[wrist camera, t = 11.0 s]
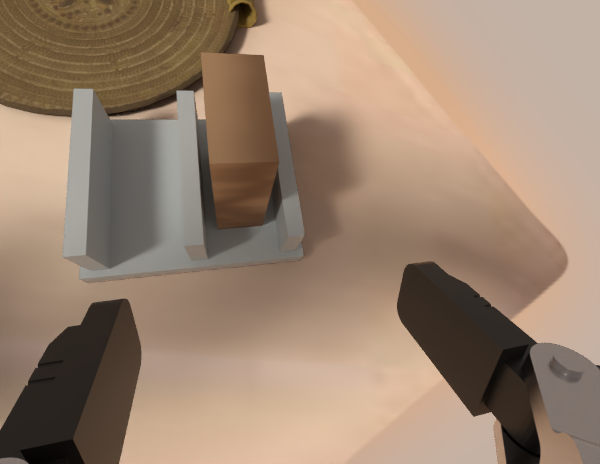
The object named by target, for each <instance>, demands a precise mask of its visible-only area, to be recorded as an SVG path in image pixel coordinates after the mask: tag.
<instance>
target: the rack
mask: <svg viewBox="0 0 600 464" xmlns="http://www.w3.org/2000/svg"><path fill="white" fill-rule="evenodd" d="M269 96H270V102H271V109H272V116H273V123H274V129H275V136H276V143H277V150H278V156H279V164H278V168H277V172H276V176H275V180H274V184H273V187H272V191H271V195H270V199H269V203H268V206H267V210H266V214H265V218H264V222H263V225H262V226H255V227H242V228H229V229H218V227H217V219H216V212H215V204H214V196H213V189H212V181H211V173H210V166H209V154H208V141H207V128H206V120H198V116H197V110H196V103H195V97H194V91H177V110H178V120H110V119H109V117H108V115H107V113H106V111H105V109H104V108H103V106H102V104H101V102H100V100H99V99H98V97H97V95H96V93H95V91H94V90H93V89H74V91H73V106H72V121H71V137H70V152H69V167H68V182H67V197H66V212H65V227H64V242H63V258H65V259H67V260H70V261H72V262H74V263H76V264H78V265H80V271H79V279H80V280H82V281H85V282H87V283H92V282H101V281H111V280H120V279H129V278H139V277H148V276H157V275H167V274H176V273H185V272H195V271H204V270H214V269H223V268H232V267H242V266H251V265H260V264H270V263H279V262H288V261H298V260H301V259H302V258H303V256H304V253H303V247H302V239H303V238H304V236H305V232H304V226H303V220H302V214H301V208H300V202H299V196H298V189H297V183H296V177H295V171H294V165H293V159H292V153H291V147H290V141H289V134H288V128H287V122H286V116H285V110H284V104H283V98H282V93H279V92H269Z"/></svg>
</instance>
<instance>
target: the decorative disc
mask: <svg viewBox="0 0 600 464" xmlns="http://www.w3.org/2000/svg"><path fill="white" fill-rule="evenodd" d="M256 21H257V12H256V10H255V6H254V3H253V0H0V104H2V105H5V106H8V107H12V108H15V109H19V110H23V111H27V112H31V113H38V114H51V115H68V116H72V106H73V91H74V89H93V90H94V91H95V93H96V95H97V97H98V99H99V100H100V102H101V104H102V106H103V108H104V109H105V111H106V113H107V114H110V113H118V112H125V111H132V110H138V109H140V108H143V107H145V106H148V105H150V104H153V103H155V102H158V101H160V100H162V99H165V98H167V97H170V96H172V95H175V94H177V91H182V90H183V89H185V88H186V87H188V86H189V85H191V84H192V83H193V82H195V81H196V80H198V79H199V78H201V77H202V76H203V75H202V62H201V52H204V53H224V52H225V50H226V48H227V47H228V45H229V44H230V42H231V40H232V39H233V36H234V32H235V29H236V27H247V28H251V27H252V26H253V24H254V23H255V22H256Z"/></svg>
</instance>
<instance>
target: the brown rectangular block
mask: <svg viewBox="0 0 600 464" xmlns="http://www.w3.org/2000/svg"><path fill="white" fill-rule="evenodd" d="M201 62H202V75H203V88H204V101H205V115H206V128H207V141H208V154H209V166H210V173H211V181H212V189H213V196H214V204H215V212H216V219H217V227H218V229H229V228H242V227H255V226H262V225H263V222H264V218H265V214H266V210H267V206H268V203H269V199H270V195H271V191H272V187H273V184H274V180H275V176H276V172H277V168H278V164H279V156H278V150H277V143H276V136H275V129H274V123H273V116H272V109H271V102H270V96H269V89H268V82H267V75H266V69H265V62H264V55H247V54H226V53H204V52H201Z"/></svg>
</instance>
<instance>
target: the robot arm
mask: <svg viewBox="0 0 600 464" xmlns="http://www.w3.org/2000/svg"><path fill="white" fill-rule="evenodd" d="M397 310H398V315H399V318H400V320H401V322H402V323H403V325H404V326H405V327H406V329H407V330H408V331H409V333H410V334H411V335H412V336H413V338H414V339H415V340H416V342H417V343H418V344H419V346H420V347H421V348H422V350H423V351H424V352H425V354H426V355H427V356H428V357H429V359H430V360H431V361H432V363H433V364H434V365H435V367H436V368H437V369H438V371H439V372H440V373H441V375H442V376H443V377H444V378H445V380H446V381H447V382H448V383H449V385H450V386H451V387H452V389H453V390H454V392H455V393H456V394H457V395H458V397H459V398H460V399H461V401H462V402H463V403H464V405H465V406H466V407H467V409H468V410H469V411H470V413H471V414H472V415H473V416H478V415H482V414H485V413H489V412H492V414H493V415H494V416H495V417H496V421H495V423H494V437H495V444H496V452H497V461H498V464H600V366H598V365H594V364H593V363H592V362H591V361H590V360H588V359H587V358H585V357H584V356H582V355H580V354H579V353H577V352H575V351H573V350H571V349H569V348H566V347H563V346H560V345H557V344H552V343H536V342H535V341H534V340H533V339H532V338H531V337H529V336H528V335H527V334H526V333H525V332H523V331H522V330H521V329H520V328H519V327H517V326H516V325H515V324H514V323H513V322H512V321H510V320H509V319H508V318H507V317H506V316H504V315H503V314H502V313H501V312H500V311H498V310H497V309H496V308H495V307H491V304H490V303H489V302H488V301H486V300H485V299H484V298H483V297H480V295H479V294H478V293H477V292H476V291H474V290H473V289H472V288H471V287H470V286H469V285H467V284H466V283H464V282H462V281H460V280H458V279H456V278H454V277H452V276H450V275H448V274H447V273H446V272H445V271H444V270H443V269H441V268H440V267H439V266H438V265H437V264H435V263H434V262H431V261H430V262H422V263H414V264H408V265H407V266H406V267H405V269H404V273H403V278H402V283H401V288H400V292H399V297H398V302H397ZM140 366H141V345H140V340H139V336H138V332H137V329H136V325H135V321H134V317H133V314H132V310H131V306H130V303H129V301H128V300H127V299H119V300H111V301H103V302H95V303H92V304H91V305H90V307H89V309H88V311H87V313H86V315H85V317H84V319H83V321H82V323H81V325H78V326H71V327H68V328H66V329H65V330H64V331H63V332H62V333H61V334H60V335H59V336H58V337H57V338H56V339H55V340H53V341H52V342H51V343H50V344H49V345H48V347H47V349H46V351H45V353H44V354H43V356H42V358H41V360H40V361H39V363H38V368H35V370H34V372H33V374H32V375H31V377H30V379H29V381H28V386H25V388H24V390H23V391H22V393H21V395H20V397H19V398H18V400H17V402H16V404H15V405H14V407H13V409H12V411H11V412H10V414H9V416H8V418H7V419H6V421H5V423H4V425H3V427H2V428H1V430H0V464H119V461H120V456H121V452H122V447H123V443H124V438H125V434H126V429H127V425H128V420H129V416H130V411H131V407H132V402H133V398H134V393H135V389H136V384H137V380H138V375H139V371H140Z"/></svg>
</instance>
